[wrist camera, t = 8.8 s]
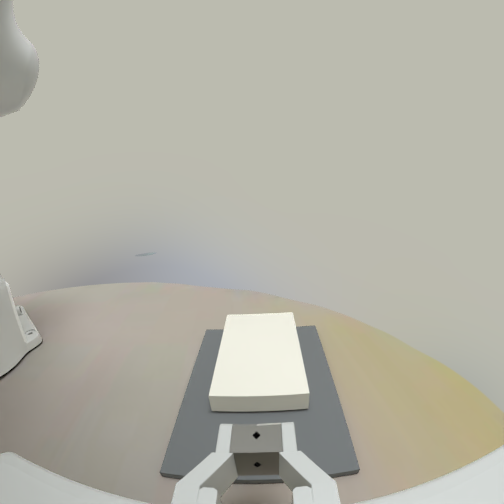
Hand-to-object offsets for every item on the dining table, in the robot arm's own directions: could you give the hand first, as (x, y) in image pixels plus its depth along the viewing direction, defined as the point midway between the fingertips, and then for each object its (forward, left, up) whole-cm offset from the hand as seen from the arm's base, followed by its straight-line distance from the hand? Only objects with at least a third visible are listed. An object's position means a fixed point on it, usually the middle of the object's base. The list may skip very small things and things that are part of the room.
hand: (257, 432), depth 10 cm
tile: (-5, +5, -5) cm, 9 cm away
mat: (-8, +7, -7) cm, 12 cm away
